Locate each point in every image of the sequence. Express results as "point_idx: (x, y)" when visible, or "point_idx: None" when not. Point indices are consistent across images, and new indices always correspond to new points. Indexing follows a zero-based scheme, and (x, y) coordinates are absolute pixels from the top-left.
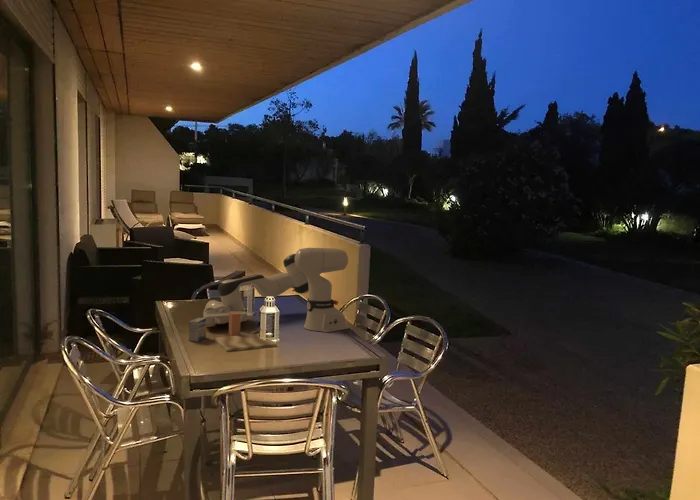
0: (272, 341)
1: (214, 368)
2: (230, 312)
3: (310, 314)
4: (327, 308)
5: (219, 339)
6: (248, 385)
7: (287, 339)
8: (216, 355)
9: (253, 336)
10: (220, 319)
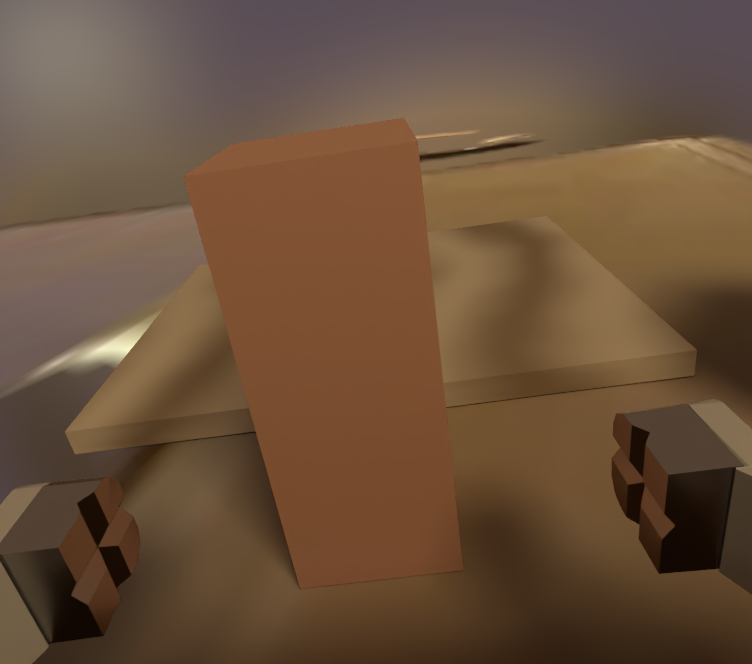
0: (185, 287)
1: (605, 160)
2: (383, 145)
3: None
4: None
5: (611, 315)
6: (496, 139)
7: (4, 357)
8: (609, 207)
9: (230, 362)
10: (676, 449)
